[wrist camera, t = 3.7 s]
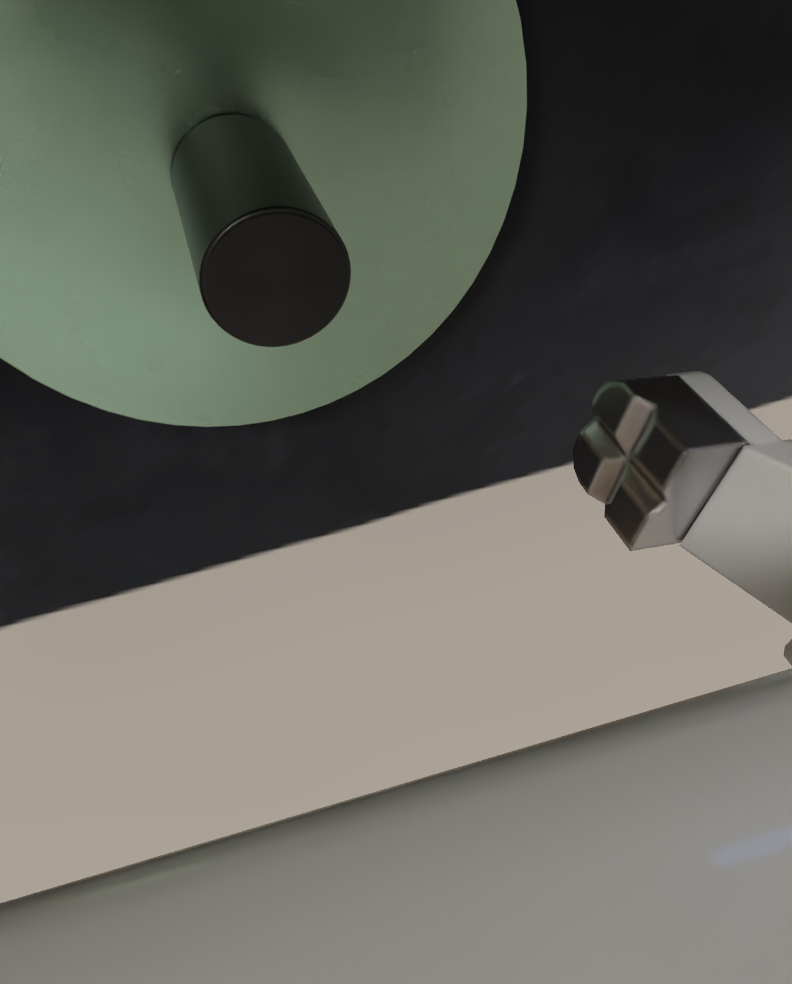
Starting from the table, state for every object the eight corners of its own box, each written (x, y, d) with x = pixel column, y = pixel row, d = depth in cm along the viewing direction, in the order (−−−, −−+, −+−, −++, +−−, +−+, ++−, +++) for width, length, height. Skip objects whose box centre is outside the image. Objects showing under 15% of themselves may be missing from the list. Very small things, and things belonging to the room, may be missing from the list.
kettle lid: (586, -209, 12) (792, -192, 8) (444, 383, 20) (519, 505, 17) (-351, -438, 8) (-652, -573, 4) (-33, 422, 16) (-55, 592, 13)
